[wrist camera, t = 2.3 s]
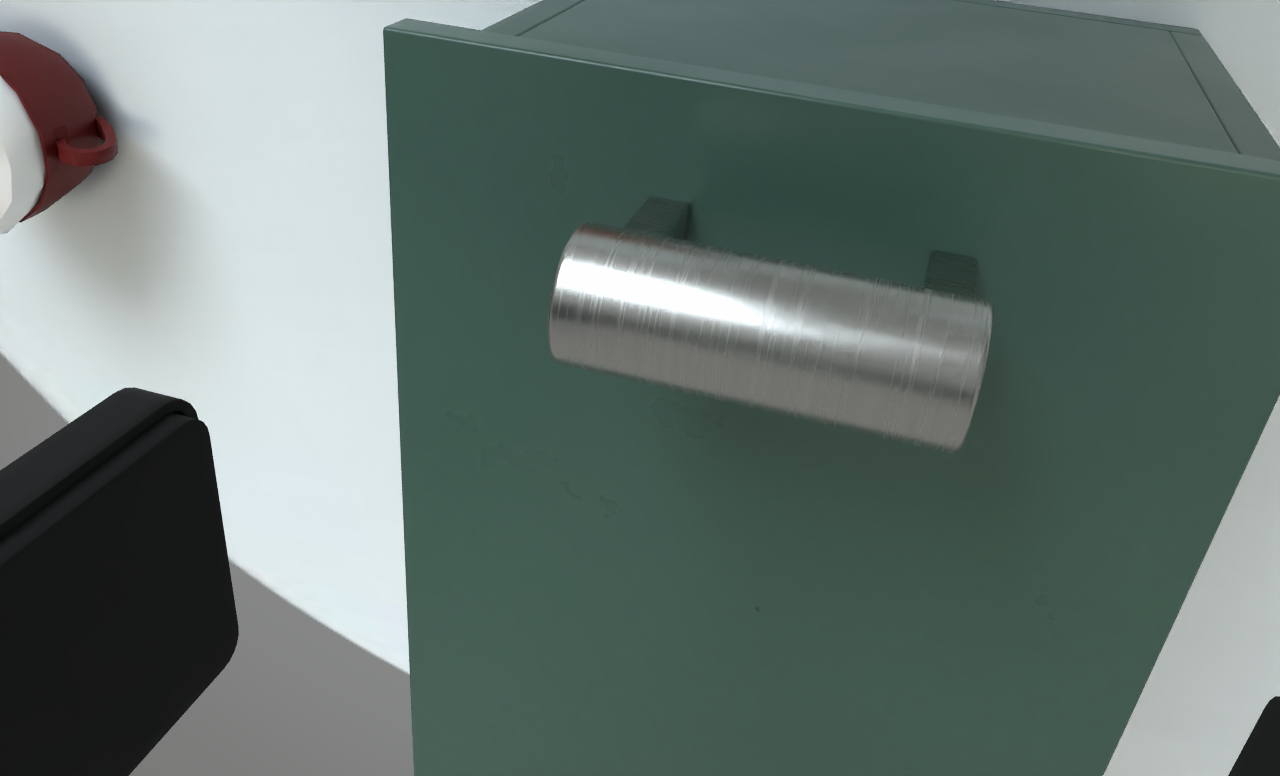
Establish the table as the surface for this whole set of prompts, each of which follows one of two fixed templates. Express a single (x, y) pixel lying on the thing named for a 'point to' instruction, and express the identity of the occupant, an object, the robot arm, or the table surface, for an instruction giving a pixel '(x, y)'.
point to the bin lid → (800, 415)
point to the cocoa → (44, 129)
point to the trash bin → (939, 58)
